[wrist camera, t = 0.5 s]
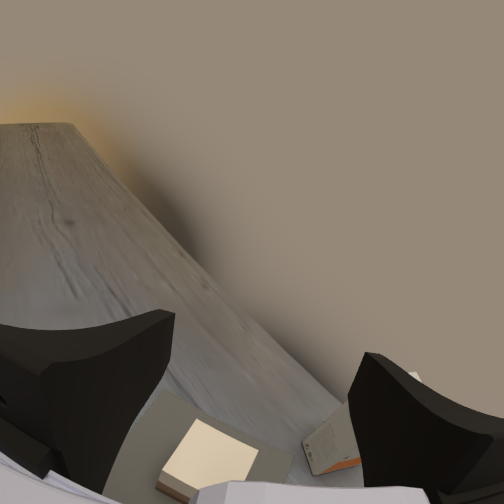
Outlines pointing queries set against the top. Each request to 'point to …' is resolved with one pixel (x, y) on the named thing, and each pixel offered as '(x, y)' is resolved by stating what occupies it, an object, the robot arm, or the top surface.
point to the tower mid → (206, 460)
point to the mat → (164, 445)
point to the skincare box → (334, 442)
